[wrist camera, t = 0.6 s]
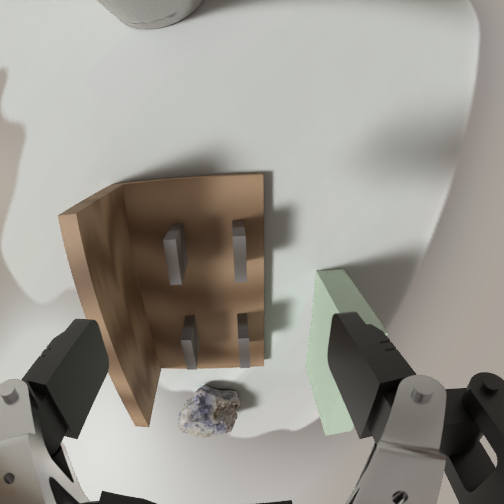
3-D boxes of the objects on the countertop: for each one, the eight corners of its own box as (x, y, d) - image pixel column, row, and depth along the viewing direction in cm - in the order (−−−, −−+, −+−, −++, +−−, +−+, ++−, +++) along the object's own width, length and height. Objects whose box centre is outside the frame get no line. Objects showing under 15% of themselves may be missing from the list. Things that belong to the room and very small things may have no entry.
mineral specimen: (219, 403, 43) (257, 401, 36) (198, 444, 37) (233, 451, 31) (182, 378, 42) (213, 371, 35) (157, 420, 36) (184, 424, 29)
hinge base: (111, 184, 25) (58, 215, 16) (262, 173, 26) (280, 199, 17) (151, 362, 34) (135, 425, 25) (262, 360, 35) (272, 426, 25)
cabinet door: (316, 270, 30) (352, 338, 20) (351, 268, 30) (398, 331, 20) (305, 366, 36) (325, 435, 26) (334, 362, 36) (360, 428, 26)
